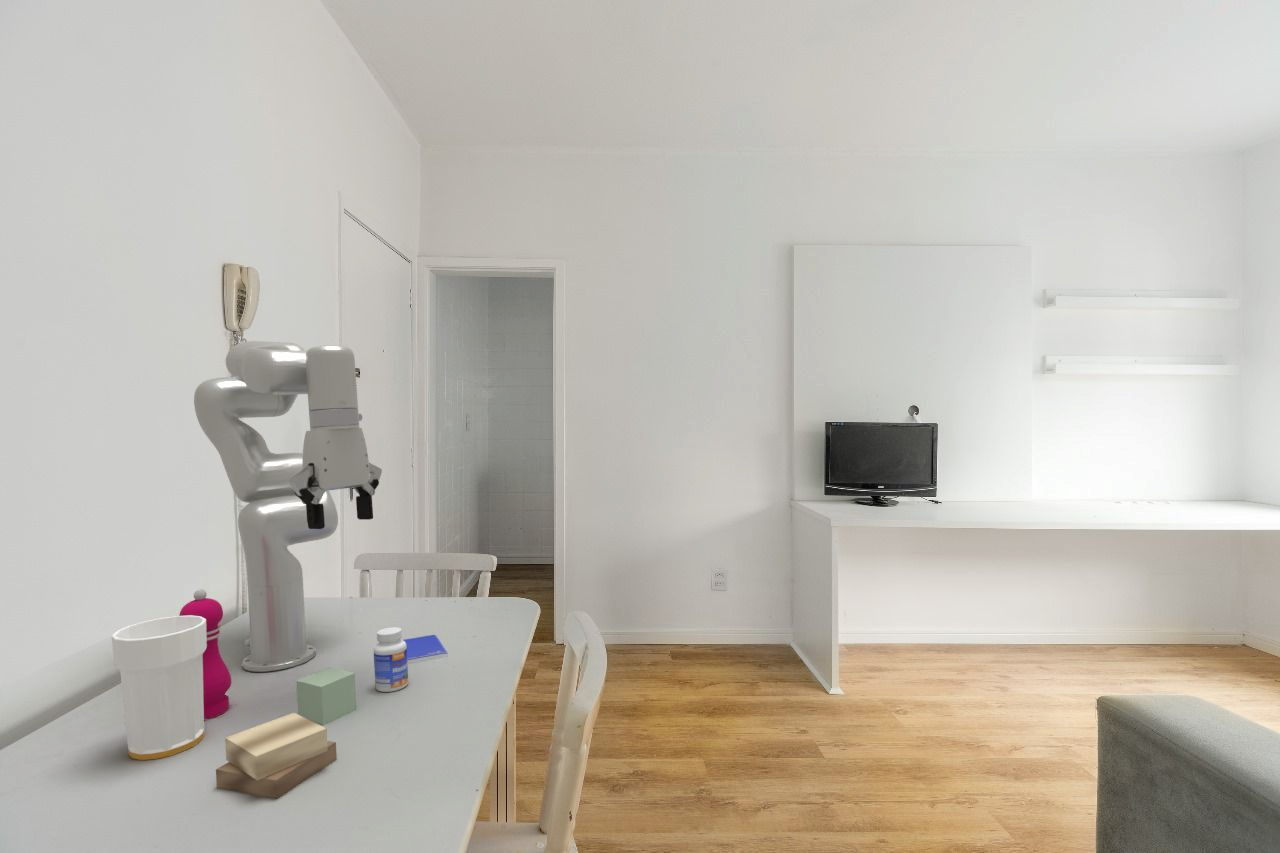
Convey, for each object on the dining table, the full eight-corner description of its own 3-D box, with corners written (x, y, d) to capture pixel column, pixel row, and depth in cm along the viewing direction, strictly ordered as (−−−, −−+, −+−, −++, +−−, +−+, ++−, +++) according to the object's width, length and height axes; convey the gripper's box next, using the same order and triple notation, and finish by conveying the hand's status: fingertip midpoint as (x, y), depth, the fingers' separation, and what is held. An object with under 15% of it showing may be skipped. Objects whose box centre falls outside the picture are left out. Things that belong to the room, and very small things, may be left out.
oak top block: (226, 760, 92) (225, 737, 92) (294, 733, 99) (293, 712, 99) (257, 780, 86) (256, 756, 86) (327, 750, 94) (326, 728, 93)
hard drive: (447, 651, 134) (435, 633, 146) (403, 659, 131) (394, 640, 142) (448, 659, 135) (436, 641, 146) (403, 667, 131) (395, 648, 142)
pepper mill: (243, 705, 115) (236, 584, 115) (203, 724, 108) (195, 596, 108) (210, 700, 118) (203, 582, 117) (169, 719, 111) (161, 594, 110)
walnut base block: (217, 792, 90) (215, 769, 90) (280, 754, 99) (279, 733, 99) (277, 804, 86) (276, 780, 86) (337, 763, 96) (335, 742, 96)
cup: (141, 772, 94) (133, 644, 94) (104, 752, 100) (97, 632, 100) (227, 736, 104) (221, 620, 103) (189, 720, 110) (183, 611, 109)
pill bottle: (397, 693, 118) (395, 636, 117) (368, 692, 119) (366, 635, 118) (414, 680, 123) (411, 626, 123) (386, 679, 124) (383, 625, 124)
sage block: (298, 718, 110) (296, 680, 109) (331, 703, 115) (329, 667, 115) (323, 725, 107) (321, 686, 107) (356, 710, 112) (354, 672, 112)
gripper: (360, 420, 126) (367, 516, 126) (271, 424, 110) (279, 532, 110) (391, 418, 122) (398, 516, 122) (303, 421, 107) (311, 533, 107)
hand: (341, 523), depth 116 cm, fingers open, 9 cm apart
